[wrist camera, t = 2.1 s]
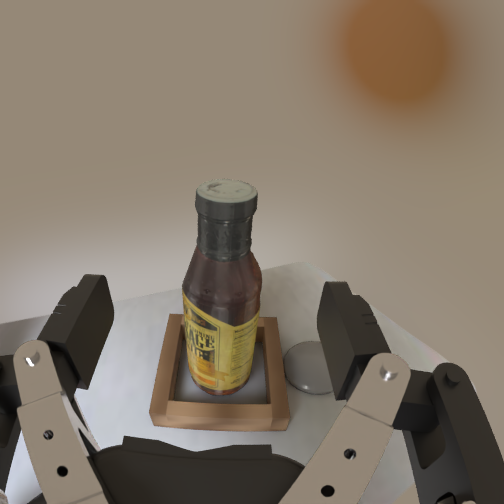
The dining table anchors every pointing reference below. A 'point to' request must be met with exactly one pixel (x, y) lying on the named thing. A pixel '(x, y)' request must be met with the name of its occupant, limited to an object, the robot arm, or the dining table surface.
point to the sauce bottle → (222, 288)
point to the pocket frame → (220, 415)
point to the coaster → (308, 368)
